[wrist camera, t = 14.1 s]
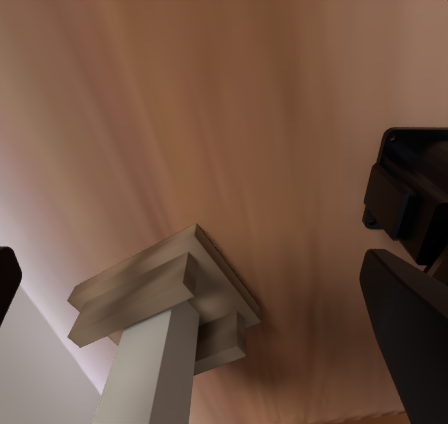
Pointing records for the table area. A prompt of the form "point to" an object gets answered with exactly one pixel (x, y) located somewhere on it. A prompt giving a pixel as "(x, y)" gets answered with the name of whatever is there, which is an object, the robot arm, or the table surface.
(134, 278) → the beige rail channel
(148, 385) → the beige rectangular block
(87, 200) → the table surface
